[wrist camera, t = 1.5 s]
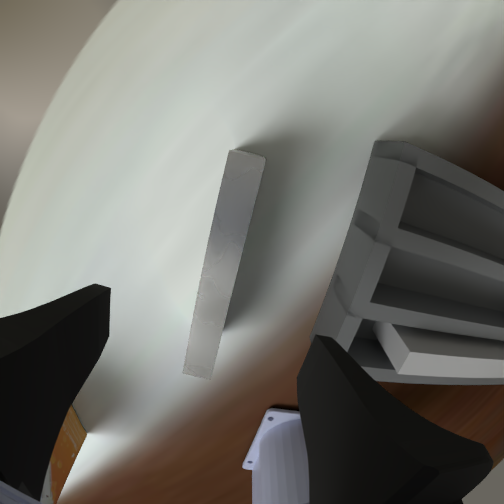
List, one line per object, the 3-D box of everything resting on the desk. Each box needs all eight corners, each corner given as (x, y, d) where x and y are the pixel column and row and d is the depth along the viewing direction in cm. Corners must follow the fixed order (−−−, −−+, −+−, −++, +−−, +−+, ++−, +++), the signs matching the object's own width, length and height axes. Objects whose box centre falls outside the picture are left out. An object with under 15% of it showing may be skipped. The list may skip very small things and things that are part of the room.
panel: (218, 332, 22) (210, 379, 17) (195, 327, 22) (182, 373, 17) (262, 155, 18) (266, 159, 13) (235, 149, 18) (229, 150, 13)
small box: (88, 434, 26) (47, 531, 14) (43, 422, 26) (-3, 506, 14) (61, 376, 23) (-5, 483, 11) (14, 366, 23) (-53, 454, 11)
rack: (494, 359, 23) (523, 393, 18) (309, 337, 22) (324, 391, 16) (551, 230, 19) (592, 250, 14) (374, 140, 17) (419, 142, 12)
